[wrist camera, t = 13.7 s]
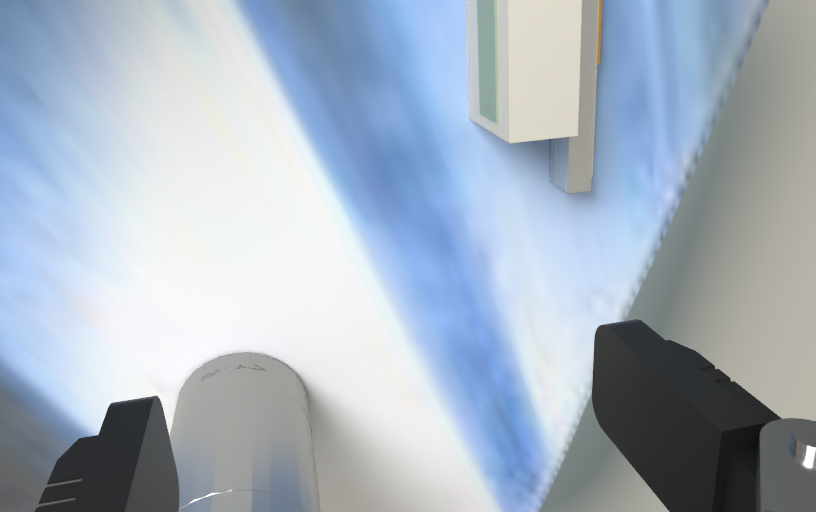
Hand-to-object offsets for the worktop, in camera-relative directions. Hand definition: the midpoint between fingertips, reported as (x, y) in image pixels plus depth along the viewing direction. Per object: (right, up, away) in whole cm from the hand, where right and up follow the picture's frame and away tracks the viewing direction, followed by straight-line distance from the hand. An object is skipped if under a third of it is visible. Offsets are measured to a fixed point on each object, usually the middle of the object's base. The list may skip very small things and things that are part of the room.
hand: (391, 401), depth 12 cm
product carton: (+6, +17, +30) cm, 35 cm away
